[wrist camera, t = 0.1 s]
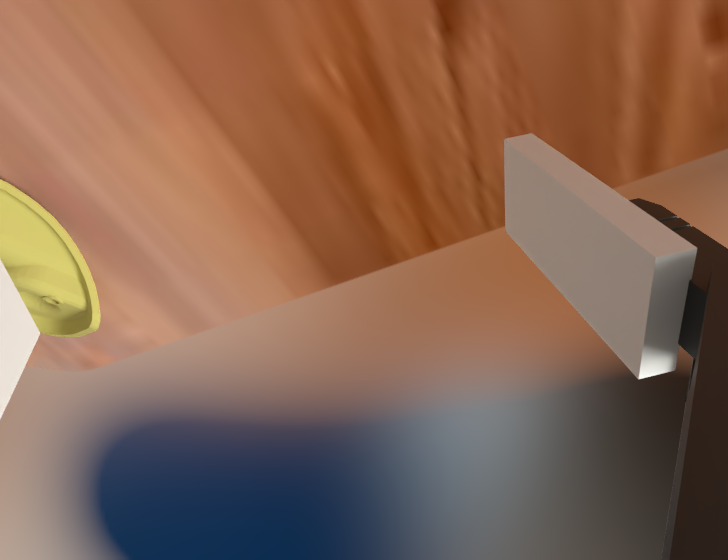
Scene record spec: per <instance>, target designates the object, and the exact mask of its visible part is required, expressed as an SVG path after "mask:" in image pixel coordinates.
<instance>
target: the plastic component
mask: <svg viewBox="0 0 728 560" xmlns="http://www.w3.org/2000/svg"><path fill="white" fill-rule="evenodd" d="M0 259H1V261H2V263H3V265H4V267H5V268H6V270H7V272H8V274H9V276H10V278H11V280H12V281H13V283H14V285H15V287H16V289H17V291H18V293H19V294H20V296H21V298H22V300H23V302H24V304H25V306H26V307H27V309H28V311H29V313H30V315H31V317H32V319H33V320H34V322H35V324H36V326H37V328H38V330H39V332H40V333H41V334H46V335H51V336H58V337H80V336H83V335H86V334H89V333H91V332H94V331H96V330H97V329H98V327H99V324H100V306H99V300H98V295H97V291H96V287H95V284H94V281H93V278H92V275H91V273H90V270H89V268H88V266H87V264H86V262H85V260H84V258H83V256H82V255H81V253H80V251H79V249H78V248H77V246H76V245H75V243H74V242H73V240H72V239H71V237H70V236H69V235H68V233H67V232H66V231H65V230H64V228H63V227H62V226H61V225H60V224H59V223H58V222H57V220H56V219H55V218H54V217H53V216H52V215H51V214H50V213H48V212H47V211H46V210H45V209H44V208H43V207H42V206H40V205H39V204H38V203H37V202H36V201H34V200H33V199H31V198H30V197H29V196H27V195H26V194H25V193H23V192H21V191H20V190H18V189H17V188H15V187H14V186H12V185H10V184H9V183H7V182H5V181H3V180H1V179H0Z"/></svg>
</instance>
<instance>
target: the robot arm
mask: <svg viewBox="0 0 728 560" xmlns="http://www.w3.org/2000/svg"><path fill="white" fill-rule="evenodd" d="M504 162H505V231H506V232H507V233H508V234H509V236H510V237H511V238H512V239H513V240H514V241H515V242H516V243H517V245H518V246H519V247H520V248H521V249H522V250H523V251H524V252H525V253H526V255H528V257H529V258H530V259H531V260H532V261H533V262H534V263H535V265H536V266H537V267H538V268H539V269H540V270H541V271H542V272H543V273H544V275H545V276H546V277H547V278H548V279H549V280H550V281H551V282H552V283H553V285H554V286H555V287H556V288H557V289H558V290H559V291H560V292H561V293H562V295H563V296H564V297H565V298H566V299H567V300H568V301H569V302H570V304H571V305H572V306H573V307H574V308H575V309H576V310H577V311H578V312H579V313H580V315H581V316H582V317H583V318H584V319H585V320H586V321H587V322H588V324H590V326H591V327H592V328H593V329H594V330H595V331H596V332H597V333H598V334H599V336H600V337H601V338H602V339H603V340H604V341H605V343H607V345H608V346H609V347H610V348H611V349H612V350H613V351H614V352H615V353H616V355H617V356H618V357H619V358H620V359H621V360H622V361H623V363H624V364H625V365H626V366H627V367H628V368H629V369H630V370H631V371H632V372H633V374H634V375H635V376H636V377H637V378H638V379H641V378H646V377H649V376H654V375H658V374H661V373H666V372H670V371H673V370H675V368H676V361H677V357H678V351H679V346H681V347H682V348H683V349H684V350H686V351H687V352H688V353H689V354H690V355H691V356H692V357H693V358H694V359H693V364H692V369H691V375H690V379H689V384H688V389H687V394H686V399H685V402H686V406H685V412H684V419H683V425H682V431H681V438H680V444H679V450H678V457H677V463H676V469H675V476H674V482H673V488H672V495H671V501H670V507H669V514H668V520H667V526H666V533H665V539H664V545H663V552H662V558H661V560H728V249H727V248H726V247H724V246H722V245H721V244H719V243H718V242H716V241H715V240H713V239H712V238H710V237H709V236H707V235H706V234H704V233H702V232H701V231H700V230H698V229H696V228H695V227H690V224H689V223H687V222H686V221H684V220H683V219H681V218H677V215H675V214H673V213H671V212H670V211H669V210H667V209H666V208H664V207H663V206H661V205H658V204H655V203H652V202H649V201H645V200H642V199H639V198H638V199H633V200H627V199H626V198H624V197H623V196H622V195H620V194H619V193H617V192H616V191H614V190H613V189H611V188H610V187H609V186H607V185H606V184H604V183H603V182H601V181H600V180H598V179H597V178H596V177H594V176H593V175H591V174H590V173H588V172H587V171H585V170H584V169H583V168H581V167H580V166H578V165H577V164H575V163H574V162H572V161H571V160H570V159H568V158H567V157H565V156H564V155H562V154H561V153H559V152H558V151H557V150H555V149H554V148H552V147H551V146H549V145H548V144H546V143H545V142H544V141H542V140H541V139H539V138H538V137H536V136H535V135H533V134H532V133H531V134H526V135H521V136H516V137H511V138H506V139H504ZM39 335H40V332H39V330H38V328H37V326H36V324H35V322H34V320H33V319H32V317H31V315H30V313H29V311H28V309H27V307H26V306H25V304H24V302H23V300H22V298H21V296H20V294H19V293H18V291H17V289H16V287H15V285H14V283H13V281H12V280H11V278H10V276H9V274H8V272H7V270H6V268H5V267H4V265H3V263H2V261H1V259H0V419H1V417H2V415H3V412H4V410H5V408H6V406H7V404H8V402H9V399H10V397H11V395H12V393H13V391H14V389H15V386H16V384H17V382H18V380H19V378H20V376H21V374H22V371H23V369H24V367H25V365H26V363H27V361H28V359H29V356H30V354H31V352H32V350H33V348H34V346H35V344H36V341H37V339H38V337H39Z"/></svg>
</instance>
